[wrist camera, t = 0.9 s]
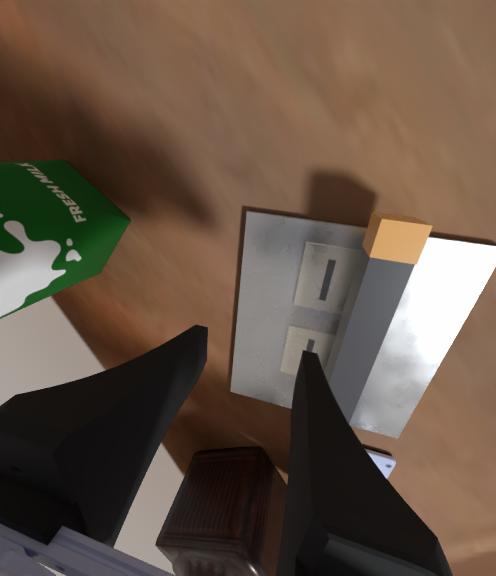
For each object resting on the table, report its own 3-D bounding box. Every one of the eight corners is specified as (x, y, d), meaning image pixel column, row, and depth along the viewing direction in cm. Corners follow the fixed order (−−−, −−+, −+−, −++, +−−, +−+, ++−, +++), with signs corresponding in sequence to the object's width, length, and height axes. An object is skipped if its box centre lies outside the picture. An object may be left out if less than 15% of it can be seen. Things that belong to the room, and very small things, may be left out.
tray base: (395, 432, 23) (414, 493, 19) (232, 387, 26) (214, 430, 22) (499, 245, 15) (571, 274, 11) (248, 210, 18) (227, 222, 14)
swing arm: (342, 407, 21) (345, 434, 19) (314, 400, 21) (314, 425, 19) (415, 217, 14) (432, 225, 12) (372, 212, 15) (381, 218, 12)
